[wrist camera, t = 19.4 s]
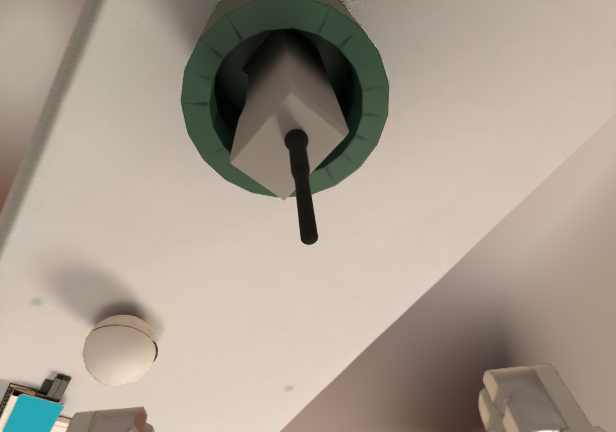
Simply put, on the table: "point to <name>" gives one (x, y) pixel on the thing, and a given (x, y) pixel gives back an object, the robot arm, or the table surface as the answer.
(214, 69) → the green hollow cylinder
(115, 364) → the cream domed seamed part
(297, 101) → the vintage mobile phone
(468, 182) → the table surface
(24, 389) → the phone stand
